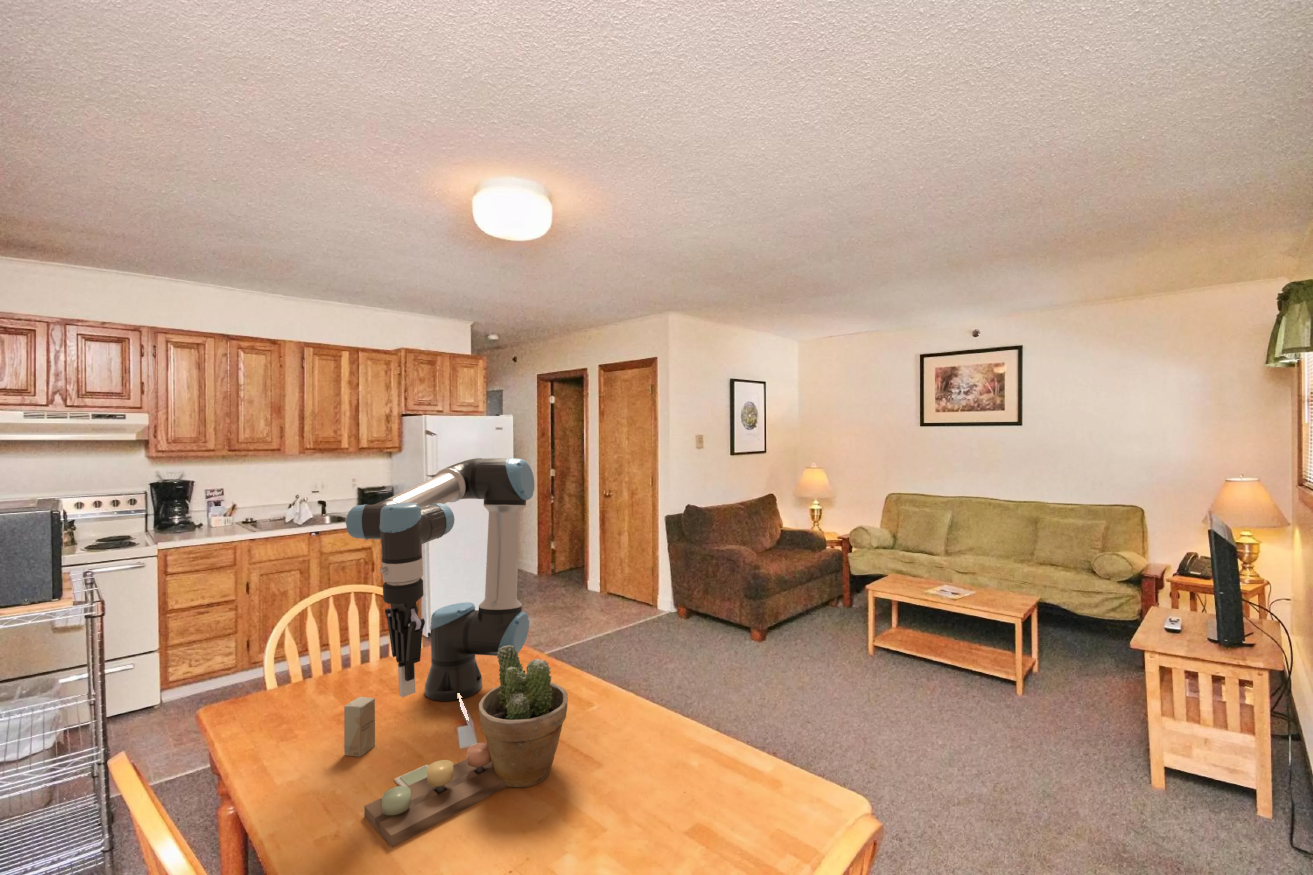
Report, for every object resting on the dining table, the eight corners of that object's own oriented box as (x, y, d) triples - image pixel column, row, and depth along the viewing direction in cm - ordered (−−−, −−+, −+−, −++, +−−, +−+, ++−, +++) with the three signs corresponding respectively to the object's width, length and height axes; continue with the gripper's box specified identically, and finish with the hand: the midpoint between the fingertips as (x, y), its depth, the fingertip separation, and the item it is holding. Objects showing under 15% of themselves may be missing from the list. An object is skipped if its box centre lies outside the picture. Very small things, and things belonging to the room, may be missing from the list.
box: (360, 757, 129) (359, 707, 129) (343, 755, 130) (342, 706, 130) (376, 744, 134) (375, 697, 134) (360, 742, 135) (359, 695, 135)
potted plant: (582, 756, 129) (583, 644, 128) (539, 809, 111) (540, 679, 110) (510, 741, 134) (511, 634, 134) (458, 788, 117) (459, 665, 116)
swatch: (427, 766, 125) (427, 762, 125) (442, 779, 120) (442, 775, 120) (394, 780, 120) (394, 777, 120) (409, 795, 115) (409, 791, 115)
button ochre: (446, 779, 117) (445, 756, 117) (458, 789, 114) (457, 766, 114) (423, 790, 114) (422, 767, 114) (434, 801, 110) (434, 777, 110)
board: (480, 761, 127) (479, 752, 127) (510, 784, 119) (510, 774, 118) (364, 816, 109) (364, 805, 109) (391, 846, 101) (391, 835, 101)
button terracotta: (484, 761, 123) (483, 740, 123) (496, 770, 120) (496, 748, 120) (463, 771, 120) (462, 749, 120) (475, 780, 117) (474, 758, 117)
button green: (404, 806, 111) (403, 782, 111) (415, 817, 108) (415, 793, 108) (378, 819, 107) (377, 794, 107) (389, 831, 104) (388, 805, 104)
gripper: (370, 578, 120) (375, 690, 121) (398, 590, 111) (403, 711, 112) (406, 570, 125) (410, 677, 126) (436, 581, 116) (440, 696, 118)
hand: (407, 693), depth 119 cm, fingers closed
